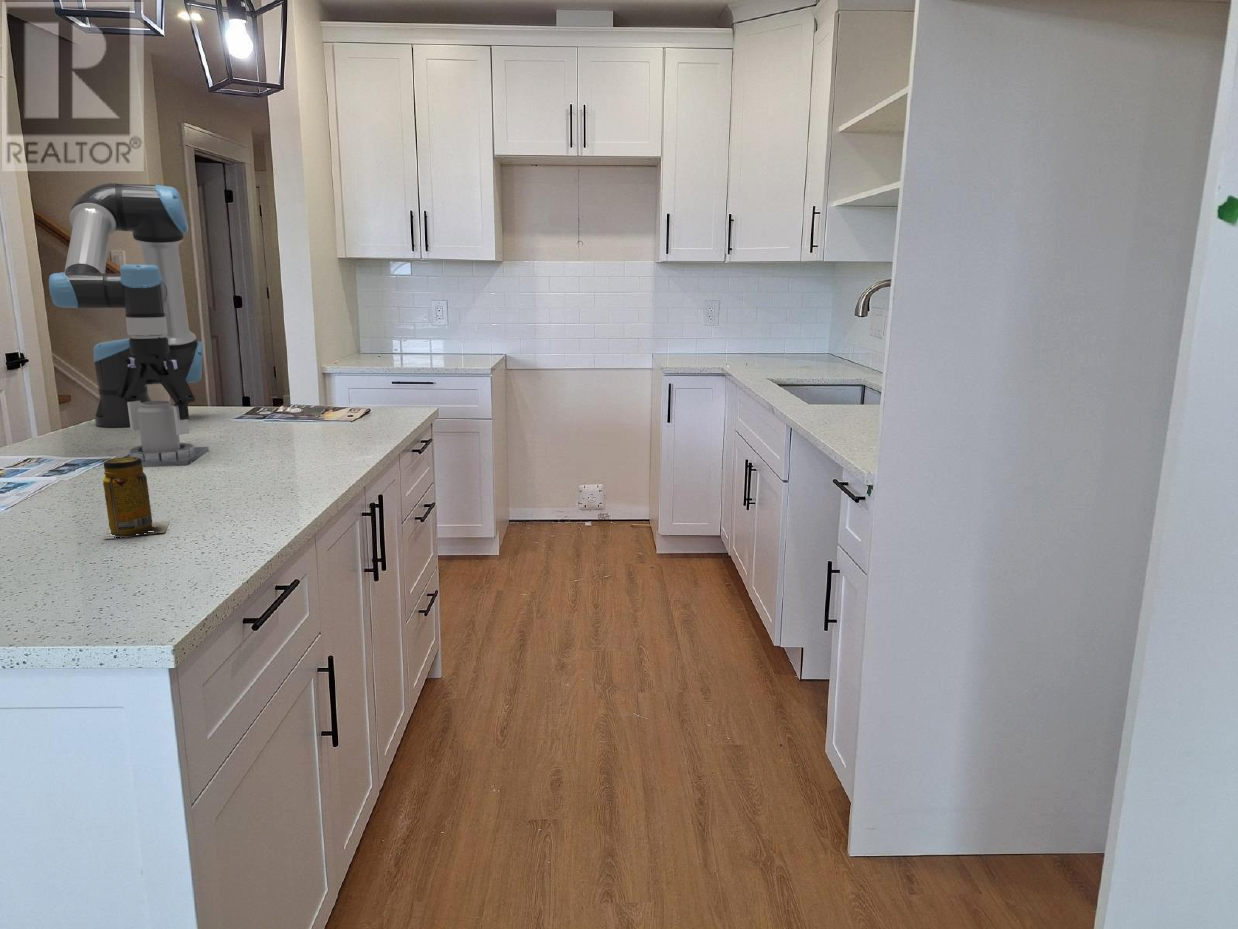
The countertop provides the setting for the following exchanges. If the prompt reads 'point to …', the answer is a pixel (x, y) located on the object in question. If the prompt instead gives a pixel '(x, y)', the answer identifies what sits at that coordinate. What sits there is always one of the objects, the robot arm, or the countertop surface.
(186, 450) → the duct flange
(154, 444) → the can
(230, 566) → the countertop surface
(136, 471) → the condiment
